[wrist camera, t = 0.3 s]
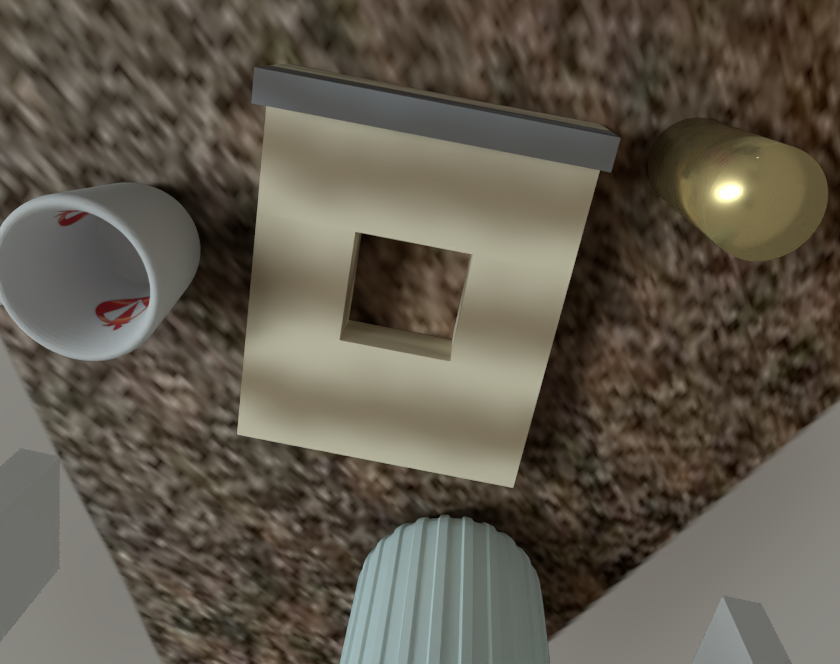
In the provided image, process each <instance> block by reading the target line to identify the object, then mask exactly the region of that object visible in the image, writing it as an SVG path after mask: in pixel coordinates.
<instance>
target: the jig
mask: <svg viewBox="0 0 840 664" xmlns="http://www.w3.org/2000/svg"><path fill="white" fill-rule="evenodd" d="M252 103H253V104H258V105H263V106H266V117H265V128H264V139H263V151H262V162H261V173H260V184H259V196H258V207H257V218H256V229H255V240H254V252H253V263H252V274H251V285H250V296H249V308H248V319H247V330H246V341H245V352H244V364H243V375H242V386H241V397H240V408H239V420H238V431H237V434H238V435H243V436H248V437H253V438H258V439H263V440H269V441H274V442H279V443H284V444H289V445H294V446H300V447H305V448H310V449H315V450H320V451H325V452H331V453H336V454H341V455H346V456H351V457H356V458H362V459H367V460H372V461H377V462H382V463H387V464H393V465H398V466H403V467H408V468H413V469H418V470H424V471H429V472H434V473H439V474H444V475H449V476H455V477H460V478H465V479H470V480H475V481H480V482H486V483H491V484H496V485H501V486H506V487H511V488H513V486H514V483H515V479H516V475H517V472H518V468H519V464H520V461H521V457H522V453H523V450H524V446H525V442H526V439H527V435H528V431H529V428H530V424H531V421H532V417H533V413H534V410H535V406H536V402H537V399H538V395H539V391H540V388H541V384H542V380H543V377H544V373H545V369H546V366H547V362H548V358H549V355H550V351H551V347H552V344H553V340H554V336H555V333H556V329H557V325H558V322H559V318H560V314H561V311H562V307H563V304H564V300H565V296H566V293H567V289H568V285H569V282H570V278H571V274H572V271H573V267H574V263H575V260H576V256H577V252H578V249H579V245H580V241H581V238H582V234H583V230H584V227H585V223H586V219H587V216H588V212H589V208H590V205H591V201H592V198H593V194H594V190H595V187H596V183H597V179H598V176H599V172H600V171H606V172H611V171H612V167H613V164H614V160H615V157H616V153H617V150H618V146H619V142H620V139H621V138H620V137H619V136H617V135H616V134H614V133H613V132H611V131H610V130H608V129H607V128H605V127H604V126H602V125H601V124H597V123H592V122H587V121H581V120H576V119H571V118H566V117H561V116H555V115H550V114H545V113H540V112H535V111H529V110H524V109H519V108H514V107H509V106H504V105H498V104H493V103H488V102H483V101H478V100H472V99H467V98H462V97H457V96H452V95H446V94H441V93H436V92H431V91H426V90H421V89H415V88H410V87H405V86H400V85H395V84H389V83H384V82H379V81H374V80H369V79H363V78H358V77H353V76H348V75H343V74H338V73H332V72H327V71H322V70H317V69H312V68H306V67H301V66H296V65H291V64H278V65H269V66H261V67H254V79H253V91H252ZM362 233H364V234H370V235H375V236H380V237H385V238H390V239H396V240H401V241H406V242H411V243H416V244H421V245H427V246H432V247H437V248H442V249H447V250H453V251H458V252H463V253H468V254H470V258H469V263H468V268H467V272H466V277H465V282H464V286H463V291H462V296H461V301H460V305H459V310H458V315H457V319H456V324H455V329H454V333H453V338H452V340H451V339H446V338H440V337H435V336H430V335H425V334H420V333H415V332H409V331H404V330H399V329H394V328H389V327H383V326H378V325H373V324H368V323H363V322H358V321H352V320H349V316H350V309H351V302H352V296H353V289H354V282H355V276H356V269H357V262H358V255H359V249H360V242H361V235H362Z"/></svg>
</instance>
